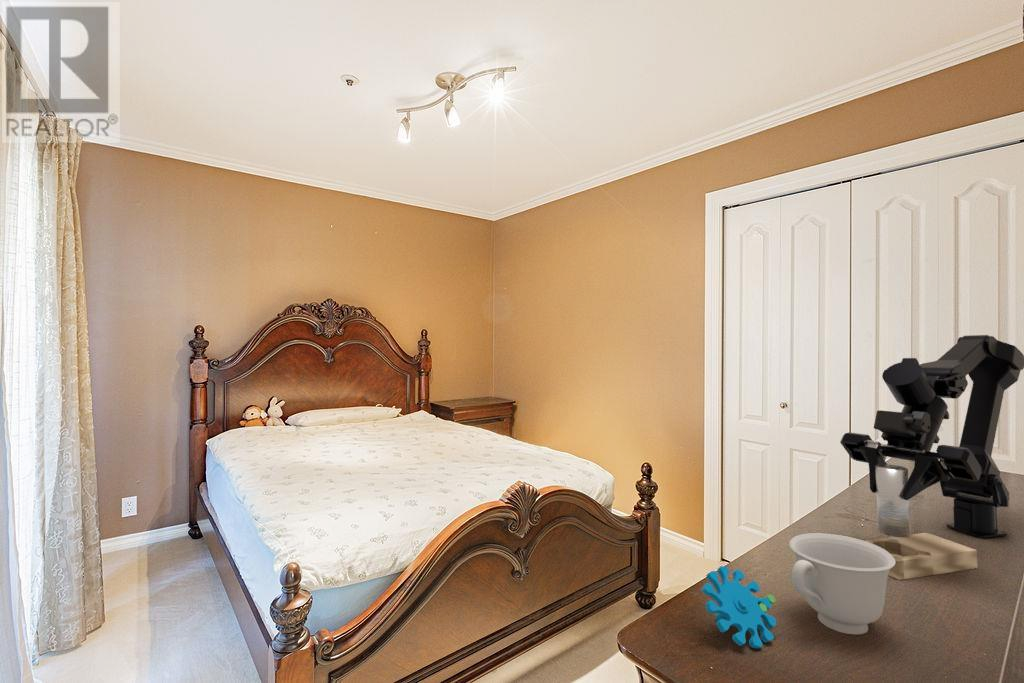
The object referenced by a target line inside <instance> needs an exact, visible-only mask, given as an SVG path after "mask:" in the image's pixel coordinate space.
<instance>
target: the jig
mask: <svg viewBox="0 0 1024 683" xmlns="http://www.w3.org/2000/svg"><path fill="white" fill-rule="evenodd" d="M863 541H866V542H869V543H872V544H874V545H877V546H879V547H881V548H883V549H884V550H886V551H887V552H889V553H890V554H891V555H892V556H893V557H894V559H895V561H896V562H895V565H894V566H893V567H892V568H890V570H889V572H888V577H891V578H894V579H896V580H897V581H900V580H907V579H915V578H921V577H927V576H935V575H939V574H941V575H942V574H947V573H956V572H961V571H968V570H976V569H978V567H979V566H978V550H977V549H975V548H972V547H969V546H967V545H964V544H960V543H958V542H955V541H952V540H950V539H946V538H943V537H940V536H938V535H935V534H933V533H929V532H922V533H921V532H919V533H913V534H912V533H911V536H910V537H894V536H888V537H882V538H874V539H866V540H865V539H864V540H863ZM975 568H976V569H975Z"/></svg>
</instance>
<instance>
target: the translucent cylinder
mask: <svg viewBox="0 0 1024 683" xmlns="http://www.w3.org/2000/svg"><path fill="white" fill-rule="evenodd" d="M875 471H876V492H875V494H876V512H877V514H876V517H877V531H878V532H879V533H880V534H883V535H886V536H888V537H910V536H911V534H912V531H911V510H910V509H911V508H910V507H911V506H910V505H911V504H910V499H909V500H904V498H903V497H902V495H903V491H904V488H905V486H906V484H907V482H908V480H909V468H907V467H905V466H902V465H897V464H896V465H895V464H880V465H876V466H875Z"/></svg>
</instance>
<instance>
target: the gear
mask: <svg viewBox="0 0 1024 683" xmlns="http://www.w3.org/2000/svg"><path fill="white" fill-rule="evenodd" d="M729 574H730V568H728V567H727V566H725V565H724V566H723V565H720V566H719V567H718V568H717V571H715V570H711V571H709V573H707V574H706V579H707V580H708V581H709V582H707V583H705V584H704V585H703V586H702V589H701V592H702V594H704V595H706V596H709V597H711V598H712V599H713V600H714V601H713V600H712V599H711V600H710V599H709V600H708V601H707V602H705V609H706V612H707V613H709V614H714V613H715V616H714V618H715V620H716V622H715V624H716V626H717V628H718V630H719V631H720V632H721V633H725V632H726V631H728V630H729V629H730V626H732V627H733V626H734V627H735V628H737V629H738V632H736V633H735V634H733V635H732V641H733V642H734V643H736V644H737V645H738V646H740V647H742V646H743V645H744V644H746V642H747V639H746V632H747V631H748V632H749V634H750V636H751V637H750V638H749V640H748V644H749V646H750V647H751V648H752V649H758V650H759V649H760V648H763V643H768V642H770V641H772V640H773V639H774V638H775V636H774V635H773V633H772V632H771V630H769V629H772V628H775V626H776V625H777V619H776V618H775V617H774V616H772V615H770V614H768V613H767V611H768V610H770V609H771V608H772V605H773V604H774V603H775V602H776V598H775V596H774V595H773V594H767V595H766V596H765V597H762V598H761V597H757V596H756V595H753V594H754V593H758V591H760V590H761V588H760V586H759V585H758V584H759V583H757V581H755V580H752V581H750V582H748V584H747V585H742V584H741V583H740V581H742V580H744V579H745V577H746V575H745V573H744V572H743V571H741V570H740V569H738V568H737V569H735V570H733V572H732V581H730V580H729V577H728V575H729ZM719 576H720V579H721V583H720V582H719ZM713 586H714V587H713ZM752 593H753V594H752ZM716 603H717V604H716ZM758 630H759V632H760V636H759V633H758Z"/></svg>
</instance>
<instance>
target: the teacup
mask: <svg viewBox="0 0 1024 683" xmlns="http://www.w3.org/2000/svg"><path fill="white" fill-rule="evenodd" d="M788 545H789V547H790V549H791V550H792V551H793V552H794V554H795V557H796V562H795V563H794V564H793V566H792V571H791V578H792V580H791V581H792V583H793V586H794V588H795V590H797V592H798V593H800V594H801V595H803V596H804V598H805V601H806V602H807V604H808V605H809V606H810V607H811V608H812V609H813V610H814V611H816V612H817V619H818V621H819V622H820V623H821V624H823V625H824V626H825V627H827V628H828V629H830V630H833V631H836V632H839V633H841V634H846V635H856V636H857V635H864V634H866V633H867V632H868V631H869V624H872V623H875V622H876V621H877V620H878V619H880V617H881V616H882V614H883V611H884V607H885V604H886V603H885V602H886V591H887V585H888V584H887V582H888V577H889V575H888V572H889V570H890V568H892V567H893V566H894V565H895V562H896V561H895V559H894V557H893V556H892V555H891V554H890V553H889V552H887V551H886V550H884V549H883V548H881V547H879V546H877V545H874V544H872V543H869V542H866V541H864V540H863V539H859V538H856V537H851V536H846V535H840V534H834V533H833V534H832V533H825V532H824V533H823V532H820V533H819V532H813V533H812V532H811V533H803V534H802V533H801V534H798V535H796V536H793V538H792V537H791V539H790V540H789V543H788Z"/></svg>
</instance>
